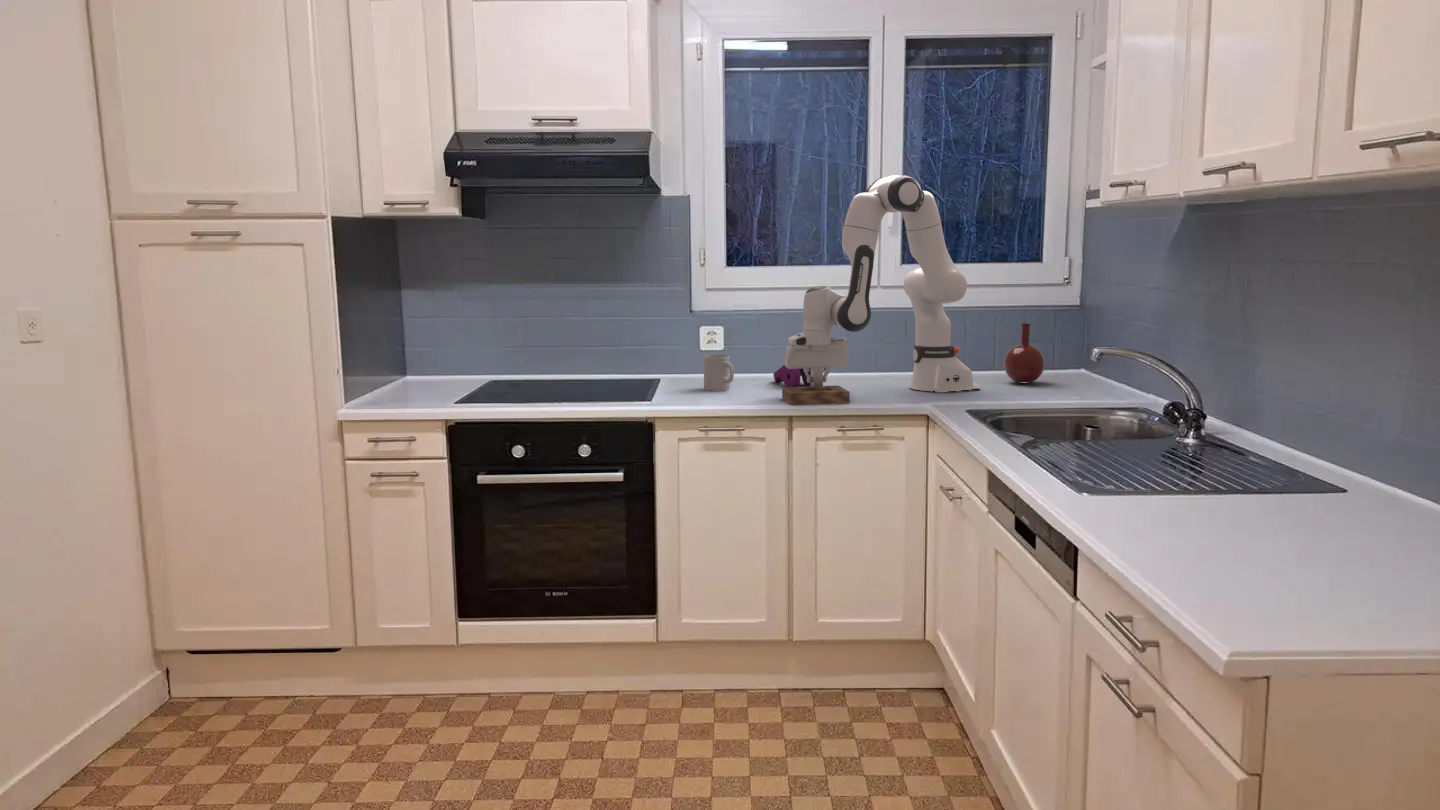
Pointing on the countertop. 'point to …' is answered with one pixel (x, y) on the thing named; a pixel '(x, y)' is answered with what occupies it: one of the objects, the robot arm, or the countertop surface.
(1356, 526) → the countertop surface
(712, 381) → the mug
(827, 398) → the well block
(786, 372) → the mounting bracket
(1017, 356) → the round-bottom flask
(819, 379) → the angle bracket
